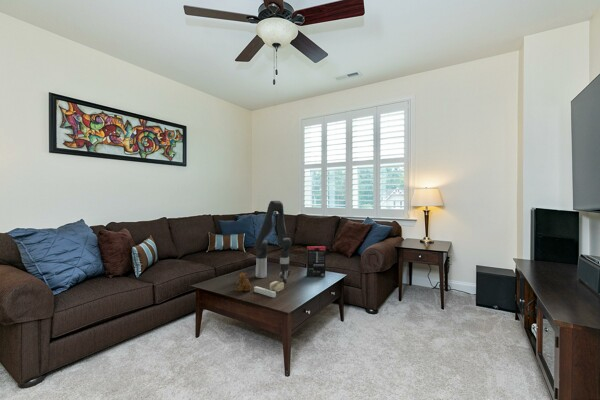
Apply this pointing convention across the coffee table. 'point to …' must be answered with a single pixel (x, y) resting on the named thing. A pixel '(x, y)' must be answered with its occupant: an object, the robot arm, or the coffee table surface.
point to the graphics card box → (316, 261)
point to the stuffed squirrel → (243, 283)
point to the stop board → (265, 291)
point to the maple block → (276, 286)
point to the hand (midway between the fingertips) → (284, 283)
